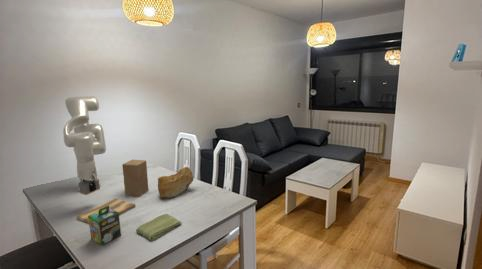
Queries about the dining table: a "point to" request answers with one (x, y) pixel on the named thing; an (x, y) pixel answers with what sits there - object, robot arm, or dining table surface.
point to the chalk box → (104, 225)
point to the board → (113, 204)
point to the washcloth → (158, 226)
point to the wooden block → (135, 177)
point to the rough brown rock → (175, 183)
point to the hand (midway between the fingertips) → (89, 189)
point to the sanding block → (87, 187)
